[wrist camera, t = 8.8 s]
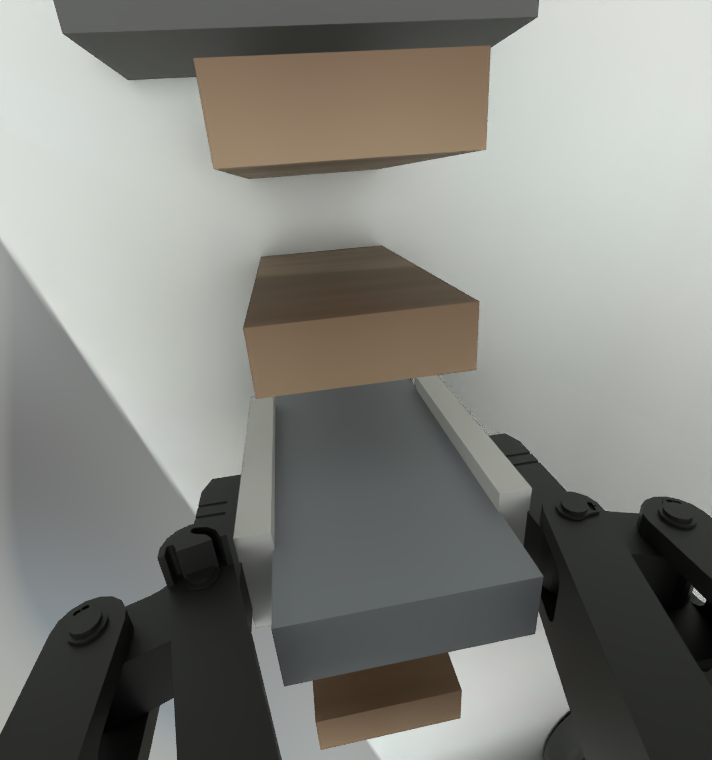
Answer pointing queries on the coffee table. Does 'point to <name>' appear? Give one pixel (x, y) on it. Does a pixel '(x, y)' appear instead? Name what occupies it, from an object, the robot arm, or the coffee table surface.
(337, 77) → the domino
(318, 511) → the domino
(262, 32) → the block
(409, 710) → the domino
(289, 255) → the domino
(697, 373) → the coffee table surface
